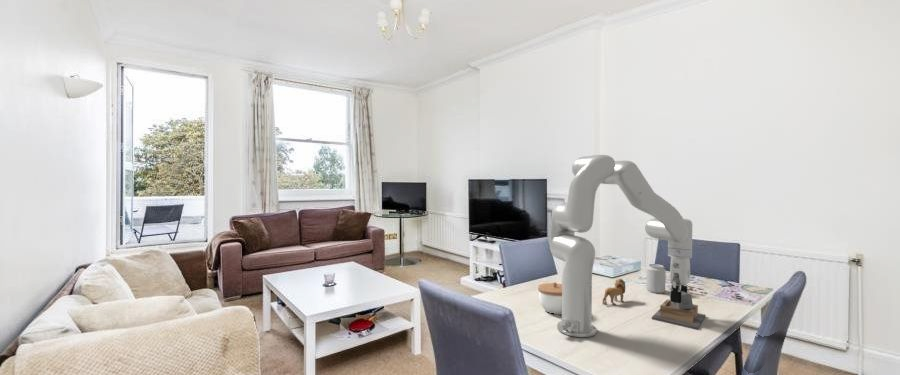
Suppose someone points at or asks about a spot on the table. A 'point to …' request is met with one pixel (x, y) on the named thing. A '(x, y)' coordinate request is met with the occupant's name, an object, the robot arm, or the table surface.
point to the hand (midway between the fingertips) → (679, 299)
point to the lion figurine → (615, 292)
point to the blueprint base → (681, 323)
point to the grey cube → (683, 301)
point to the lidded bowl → (551, 297)
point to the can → (656, 278)
